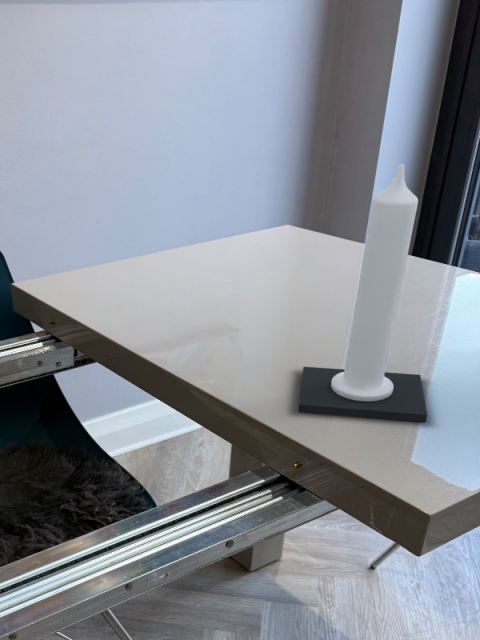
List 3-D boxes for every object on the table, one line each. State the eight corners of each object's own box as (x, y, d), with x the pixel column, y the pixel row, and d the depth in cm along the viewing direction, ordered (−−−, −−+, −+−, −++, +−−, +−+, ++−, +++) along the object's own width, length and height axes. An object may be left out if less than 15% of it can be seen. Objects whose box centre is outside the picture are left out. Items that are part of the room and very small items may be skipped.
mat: (418, 381, 97) (420, 374, 96) (425, 422, 88) (427, 414, 88) (302, 373, 100) (303, 366, 100) (298, 412, 91) (299, 404, 91)
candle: (364, 371, 97) (403, 154, 83) (405, 393, 92) (454, 165, 78) (318, 383, 95) (350, 162, 81) (358, 407, 90) (399, 174, 75)
